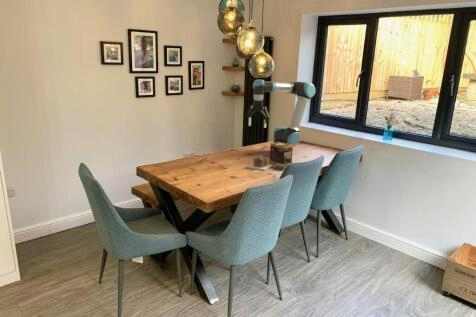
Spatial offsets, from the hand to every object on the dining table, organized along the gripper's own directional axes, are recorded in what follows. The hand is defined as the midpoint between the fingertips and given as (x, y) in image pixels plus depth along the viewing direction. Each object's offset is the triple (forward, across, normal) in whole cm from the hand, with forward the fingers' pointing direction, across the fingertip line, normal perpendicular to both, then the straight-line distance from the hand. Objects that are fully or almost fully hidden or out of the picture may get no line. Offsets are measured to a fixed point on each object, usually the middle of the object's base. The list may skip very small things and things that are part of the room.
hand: (257, 126), depth 290 cm
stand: (+29, +25, -8) cm, 39 cm away
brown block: (+28, +10, -12) cm, 32 cm away
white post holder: (+29, +10, -12) cm, 33 cm away
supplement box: (+29, +19, +7) cm, 35 cm away
